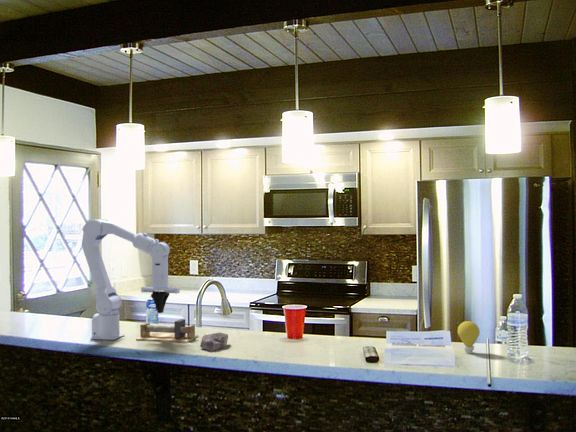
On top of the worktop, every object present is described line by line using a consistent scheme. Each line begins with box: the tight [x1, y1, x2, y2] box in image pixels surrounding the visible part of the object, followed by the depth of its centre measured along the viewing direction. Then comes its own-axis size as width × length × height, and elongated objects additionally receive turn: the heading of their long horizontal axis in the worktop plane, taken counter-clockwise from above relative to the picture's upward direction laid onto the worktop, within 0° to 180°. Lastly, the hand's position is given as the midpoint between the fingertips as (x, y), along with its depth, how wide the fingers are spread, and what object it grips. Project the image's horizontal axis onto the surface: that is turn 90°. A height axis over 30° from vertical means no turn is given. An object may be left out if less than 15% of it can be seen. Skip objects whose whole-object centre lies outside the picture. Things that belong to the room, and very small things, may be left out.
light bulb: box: [457, 320, 480, 355], centre depth 183 cm, size 7×7×10 cm
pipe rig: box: [135, 322, 199, 344], centre depth 211 cm, size 20×10×5 cm, turn 75°
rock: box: [199, 332, 229, 352], centre depth 196 cm, size 8×11×5 cm
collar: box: [173, 318, 187, 338], centre depth 209 cm, size 2×5×6 cm, turn 165°
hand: (160, 312), depth 212 cm, fingers closed
